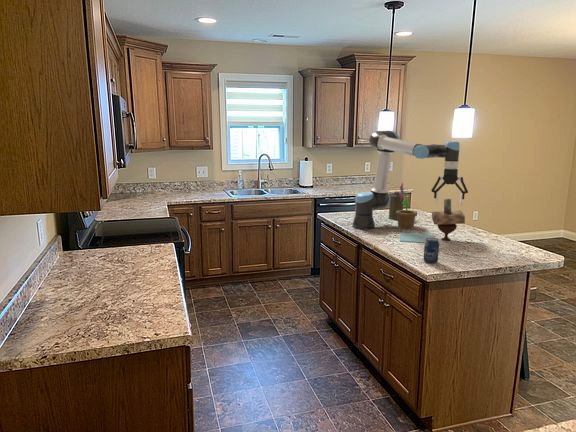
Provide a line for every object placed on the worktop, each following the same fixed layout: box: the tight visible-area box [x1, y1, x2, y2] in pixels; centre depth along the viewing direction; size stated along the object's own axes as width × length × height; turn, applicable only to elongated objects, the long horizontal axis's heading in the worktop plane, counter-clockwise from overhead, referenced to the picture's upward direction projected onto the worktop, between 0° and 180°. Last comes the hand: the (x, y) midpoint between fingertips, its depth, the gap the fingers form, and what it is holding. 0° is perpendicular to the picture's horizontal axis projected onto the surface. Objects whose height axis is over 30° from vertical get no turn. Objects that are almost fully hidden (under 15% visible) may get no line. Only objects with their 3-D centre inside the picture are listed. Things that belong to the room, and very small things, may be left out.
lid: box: [431, 198, 466, 225], centre depth 256 cm, size 17×17×13 cm
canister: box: [388, 191, 405, 221], centre depth 319 cm, size 11×10×20 cm
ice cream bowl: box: [436, 224, 458, 242], centre depth 259 cm, size 11×11×15 cm
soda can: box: [423, 237, 440, 265], centre depth 216 cm, size 7×7×12 cm
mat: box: [399, 232, 435, 244], centre depth 264 cm, size 20×20×1 cm
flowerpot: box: [396, 182, 418, 229], centre depth 292 cm, size 14×14×30 cm
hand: (448, 204), depth 256 cm, fingers open, 13 cm apart
